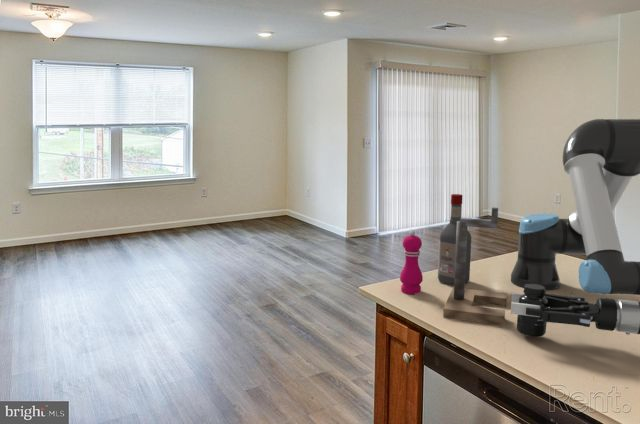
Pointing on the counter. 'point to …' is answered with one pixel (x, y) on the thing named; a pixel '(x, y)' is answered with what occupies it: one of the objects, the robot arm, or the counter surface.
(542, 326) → the supplement bottle
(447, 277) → the liquor
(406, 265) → the pepper mill
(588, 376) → the counter surface
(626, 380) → the counter surface
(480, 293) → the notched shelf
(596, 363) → the counter surface
